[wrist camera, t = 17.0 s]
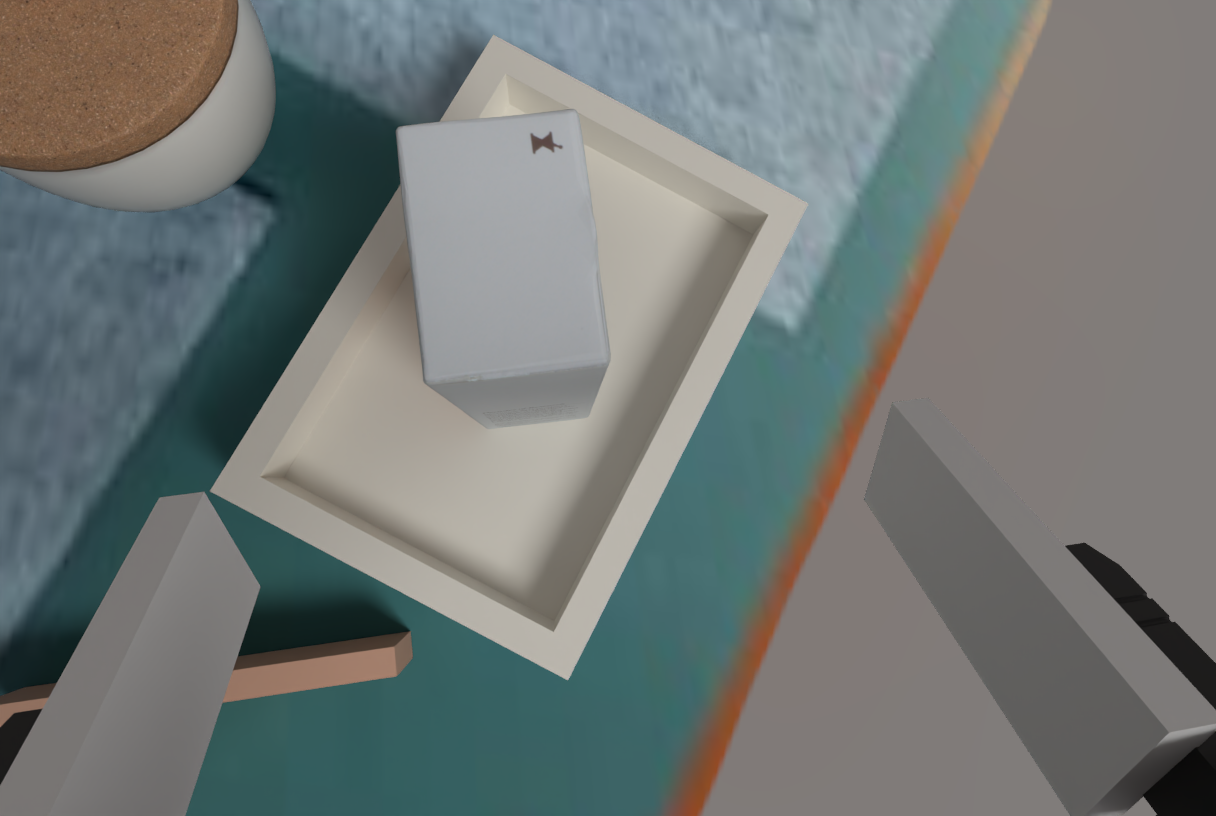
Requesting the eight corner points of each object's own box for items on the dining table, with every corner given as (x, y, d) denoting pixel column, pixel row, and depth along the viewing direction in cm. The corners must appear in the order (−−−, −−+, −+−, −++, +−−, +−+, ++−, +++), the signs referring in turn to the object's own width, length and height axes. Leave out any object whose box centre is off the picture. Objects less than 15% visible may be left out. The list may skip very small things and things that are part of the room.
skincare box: (466, 286, 26) (389, 114, 14) (572, 275, 26) (583, 99, 14) (483, 436, 25) (417, 387, 13) (591, 422, 26) (620, 363, 14)
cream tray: (566, 658, 25) (567, 680, 22) (250, 491, 25) (209, 491, 22) (782, 233, 28) (808, 203, 25) (500, 82, 28) (493, 34, 25)
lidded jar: (98, -15, 27) (-137, -274, 18) (347, 49, 28) (243, -171, 19) (9, 217, 26) (-297, 65, 17) (274, 281, 26) (121, 168, 17)
